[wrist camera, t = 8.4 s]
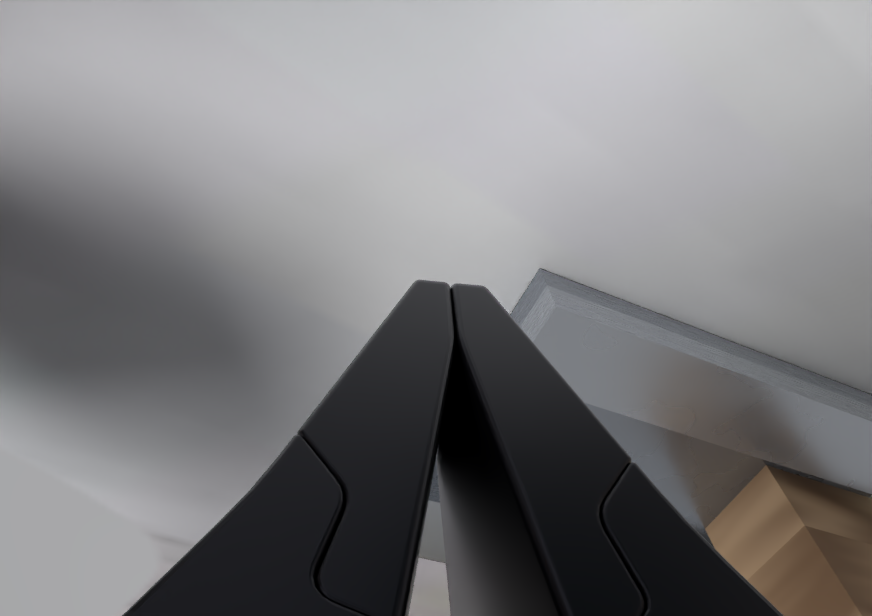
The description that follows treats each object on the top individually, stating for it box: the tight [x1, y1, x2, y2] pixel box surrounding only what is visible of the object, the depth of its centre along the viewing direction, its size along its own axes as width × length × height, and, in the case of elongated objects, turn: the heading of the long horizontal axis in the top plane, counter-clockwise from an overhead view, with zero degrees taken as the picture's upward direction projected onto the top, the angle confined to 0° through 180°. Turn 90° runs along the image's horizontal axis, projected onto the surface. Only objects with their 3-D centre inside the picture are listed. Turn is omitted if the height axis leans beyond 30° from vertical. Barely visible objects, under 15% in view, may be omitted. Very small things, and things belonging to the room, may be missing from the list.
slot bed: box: [419, 269, 872, 563], centre depth 30 cm, size 18×12×2 cm, turn 64°
